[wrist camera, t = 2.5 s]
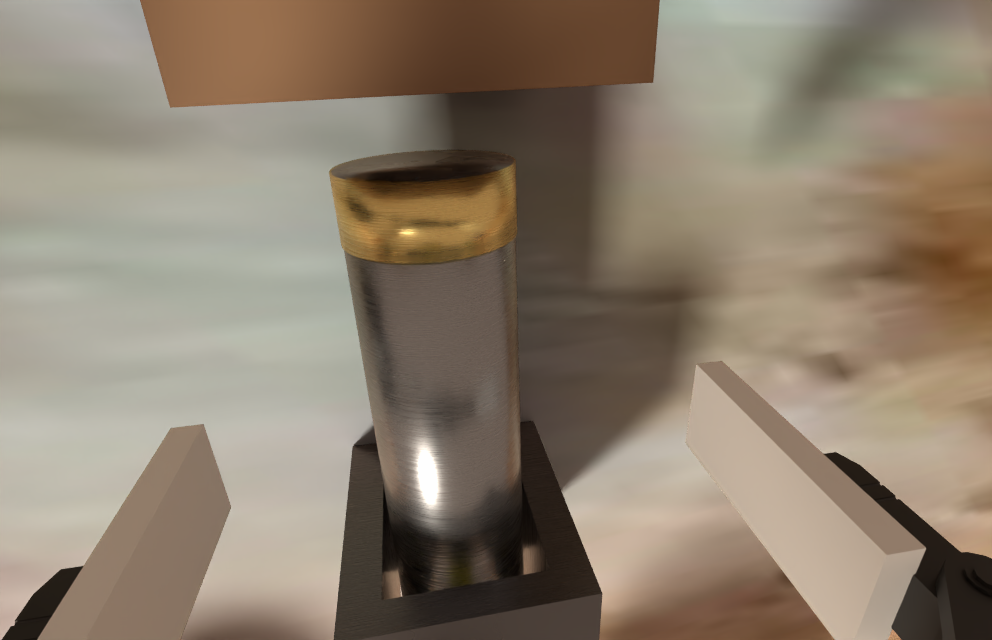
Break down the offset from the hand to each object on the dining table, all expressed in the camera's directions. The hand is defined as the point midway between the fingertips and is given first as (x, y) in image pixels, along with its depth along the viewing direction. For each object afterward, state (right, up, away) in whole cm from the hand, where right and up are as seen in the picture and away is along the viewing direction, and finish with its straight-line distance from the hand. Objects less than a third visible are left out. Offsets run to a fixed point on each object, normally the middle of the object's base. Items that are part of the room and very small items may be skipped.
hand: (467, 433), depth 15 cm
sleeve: (-1, -5, +12) cm, 13 cm away
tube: (-1, -1, +7) cm, 7 cm away
